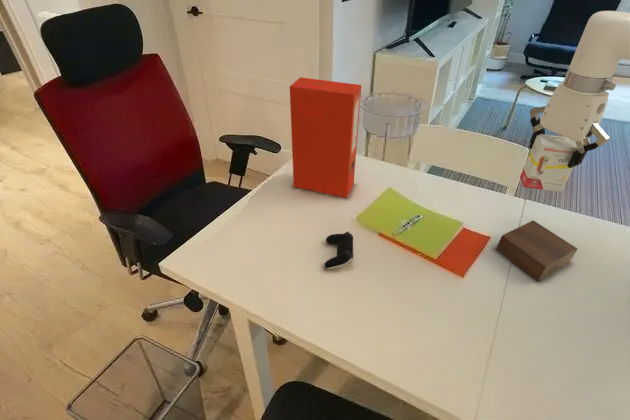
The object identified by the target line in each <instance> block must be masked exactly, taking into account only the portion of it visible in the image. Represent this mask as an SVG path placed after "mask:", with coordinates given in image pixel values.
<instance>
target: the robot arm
mask: <svg viewBox="0 0 630 420" xmlns="http://www.w3.org/2000/svg"><path fill="white" fill-rule="evenodd" d="M621 59H622V60H626V61H630V12H625V11H620V10H619V11H618V10H600V11H597V12H595V13H593V14H592V15H591V16H590V17H589V18H588V20H587V23H586V24H585V28H584V30H583V32H582V35H581V37H580V40H579V42H578V45H577V46H576V49H575V51H574V54H573V57H572V59H571V62H570V64H569V66H568V69H567V71H566V74H565V76H564V79H563V81H561V82H559V84H558V85H557V87H556V88H555V89H554V91H553V93H552V94H551V96H550V98H549V99H548V101H547V104H546V105H544V106H536V107H532V108H530V109H529V115H530V120H529V121H530V124H531V127H532V128H531V131H532V132H533V133H532V135H531V138H530V140H529V145H528V149H529V150H531V149H532V146H533V144H534V142H535V139H536V137H537V135H540V134H544V135H546V130H548V131H550V132H552V133H555V134H556V135H558V136H562V137H566V138H569V139H571V140H574V141H575V142H576V146H577V149H578V150H576V151H574V153H573V155H572V157H571V159H570V161H569V163H568V165H567V166H568V167H569V168H572V167H573V168H575V167H576V166H580V165H581V164H582V163H583V161H584V159H585V156H586V155H587V152H589V151H590V152H591V151H594V150H597V149H598V148H600V147H601V146H603V145H605V144H606V143H608V142H609V141H610V139H611V137H610V136H609V135H608V134H607V133H606V131H604V130H603V128H602V127H601V125H600V124H601V121H602V119H603V116H604V114H605V111H606V109H607V103H608V100H609V97H610V92H608V91H611V92H613V91H614V90H615V89H616V87H617V83H615V82H613V79H614V77H613V76H614V74H615V72H616V69H617V67H618V66H619V63H620V61H621ZM540 114H542V115H541V116H540ZM594 136H595V138H596V140H595V141H594V142H591V138H592V137H594Z"/></svg>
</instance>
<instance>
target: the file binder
mask: <svg viewBox="0 0 630 420" xmlns="http://www.w3.org/2000/svg"><path fill="white" fill-rule="evenodd" d="M361 95H362V84H357V83H356V84H355V83H350V82H349V83H348V82H342V81H341V82H339V81H331V80H325V79H317V78H308V77H299V78H298V79H296V80H295V81H294V82H293V83H292V84H291V85H289V103H290V104H289V105H290V106H289V107H290V127H291V129H290V131H291V153H292V155H291V156H292V177H293V178H292V179H293V187H294V188H297V189H302V190H306V191H312V192H317V193H322V194H326V195H331V196H336V197H340V198H345V199H347V198H348V197H349V196H350V193H351V191H352V190H353V187H354V183H355V174H356V173H355V172H356V160H357V158H356V157H357V145H358V134H359V133H358V132H359V121H360V109H361Z"/></svg>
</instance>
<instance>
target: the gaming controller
mask: <svg viewBox="0 0 630 420" xmlns="http://www.w3.org/2000/svg"><path fill="white" fill-rule="evenodd" d="M354 241H355V240H354V236H353V234H352V233H351V232H349V231H345V232H344V233H333V234H330V235H328V236H327V237H326V238H325V242H326V244H328V245H331V246H336V255H335V256H334V257H331V258H329V259H328V260H327V261H325V262H324V263H323V266H324V267H325V269H326V270H329V269H330V270H332V269H337V268H341V267H344V266H347V265H349V264H350V263H351V262H352V261H353V260H354V251H355V250H354V248H355V247H354V246H355V245H354Z"/></svg>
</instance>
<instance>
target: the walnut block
mask: <svg viewBox="0 0 630 420" xmlns="http://www.w3.org/2000/svg"><path fill="white" fill-rule="evenodd" d="M495 251H497V253H499V254H500V255H502V256H503V257H504V258H506V259H507V260H508V261H510V262H511V263H513V264H514V265H515V266H516V267H517V268H519V269H520V270H522V271H523V272H524V273H525V274H527V275H528V276H529V277H531V278H532V279H533V280H535V281H536V282H540V281H541V280H543V279H544V278H546V277H548V276H549V275H551V274H553V273H556V271H558V270H559V269H562V268H563V267H565V266H567V265H569V264H570V262H571V261H572V259H573V257H574V256H575V254H576V252H577V251H578V247H576V246H574V245H573V244H571V243H570V242H568V240H567V241H566V239H564V238H562V237H560V236H558V235H557V234H555V233H554V232H552V231H551V230H549V229H548V228H546V227H544V225H542V224H540V223H538V222H537V221H535V220H534V219H533V220H530V221H528V222H527V223H525V224H523V225H521V226H519V227H516V228H515V229H512V230H511V231H508V232H506V233H503V234H502V235H501V237H500V239H499V241H498V243H497V246H496V248H495Z"/></svg>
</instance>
